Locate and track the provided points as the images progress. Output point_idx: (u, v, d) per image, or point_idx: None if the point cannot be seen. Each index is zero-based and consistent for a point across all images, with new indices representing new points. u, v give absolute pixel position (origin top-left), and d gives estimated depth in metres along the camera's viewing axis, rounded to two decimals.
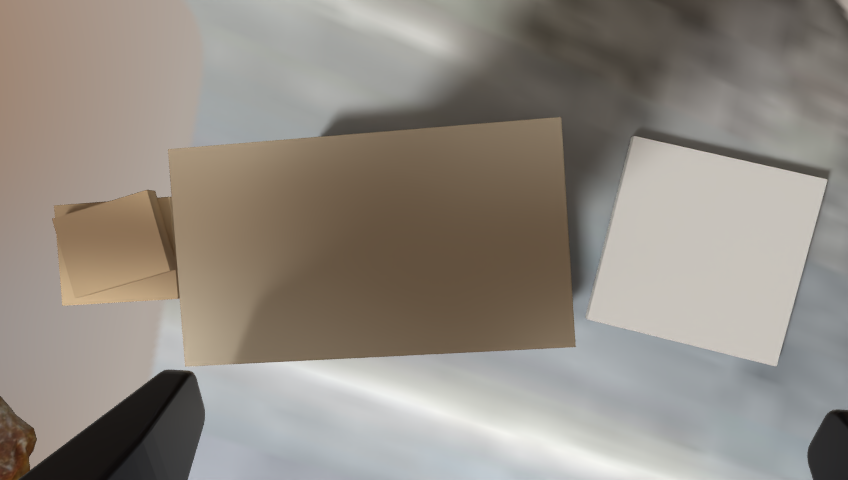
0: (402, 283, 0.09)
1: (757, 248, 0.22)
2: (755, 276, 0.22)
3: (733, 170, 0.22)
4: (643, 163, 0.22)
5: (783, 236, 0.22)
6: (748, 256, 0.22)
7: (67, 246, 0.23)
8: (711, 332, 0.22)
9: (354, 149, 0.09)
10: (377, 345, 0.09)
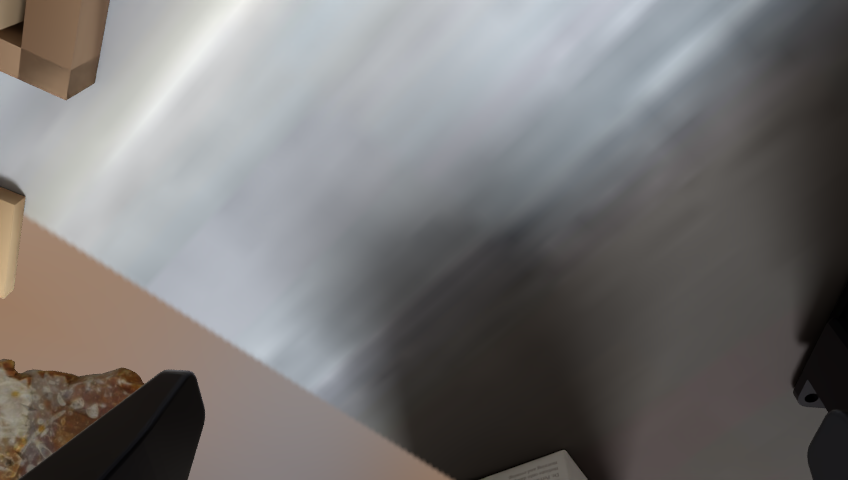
0: None
1: None
2: None
3: None
4: None
5: None
6: None
7: None
8: None
9: None
10: None
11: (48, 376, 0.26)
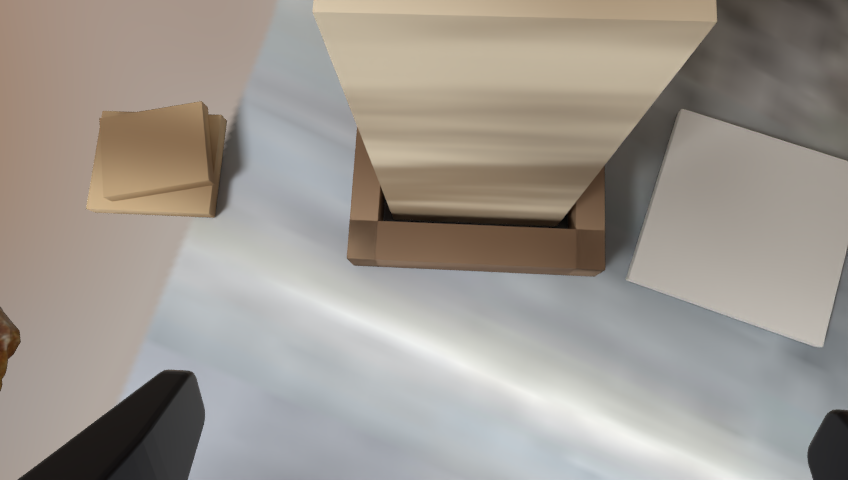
0: None
1: (801, 225, 0.22)
2: (799, 252, 0.22)
3: (776, 149, 0.23)
4: (690, 134, 0.23)
5: (826, 216, 0.22)
6: (792, 232, 0.22)
7: (108, 145, 0.23)
8: (755, 304, 0.22)
9: None
10: (515, 6, 0.09)
11: None
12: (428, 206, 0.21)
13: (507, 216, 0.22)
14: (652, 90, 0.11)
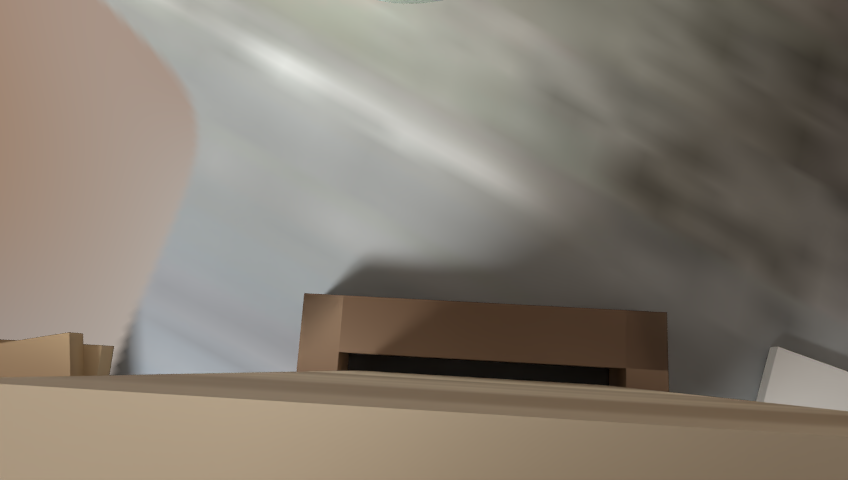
0: None
1: None
2: None
3: None
4: (791, 388, 0.15)
5: None
6: None
7: None
8: None
9: None
10: None
11: None
12: None
13: None
14: None
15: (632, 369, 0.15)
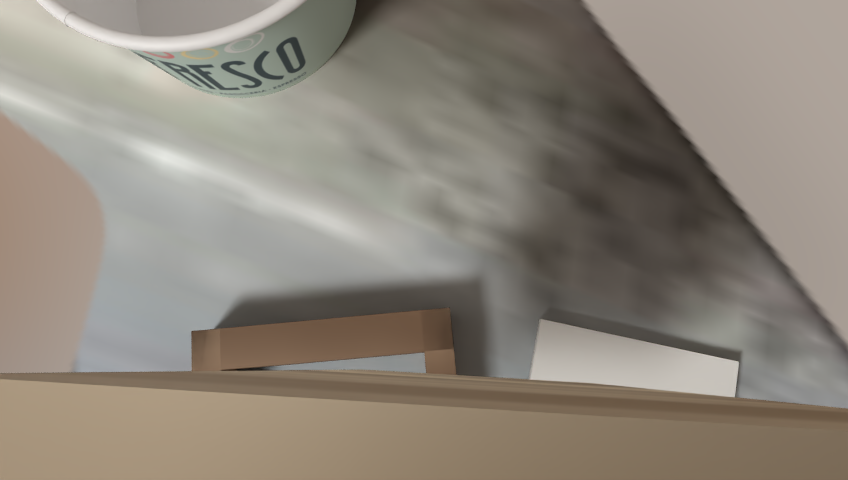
0: None
1: None
2: None
3: (644, 353, 0.21)
4: (552, 347, 0.21)
5: None
6: None
7: None
8: None
9: (601, 475, 0.03)
10: None
11: None
12: None
13: None
14: None
15: (429, 351, 0.20)
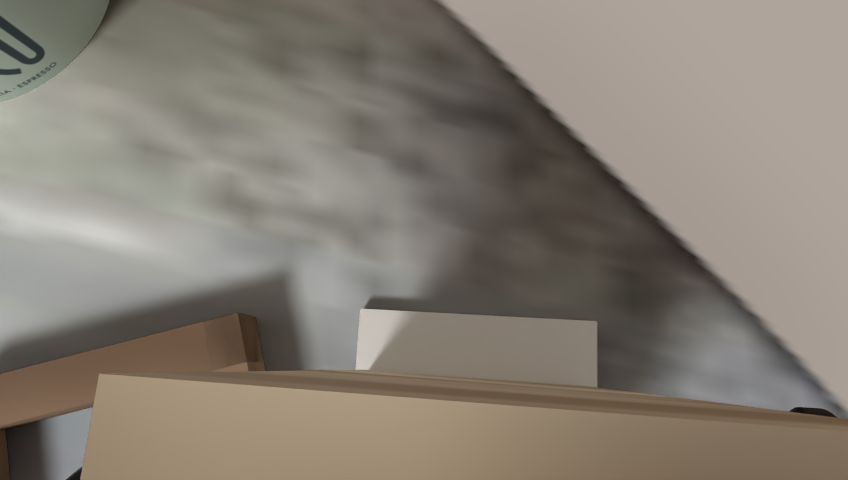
0: None
1: None
2: None
3: (485, 329, 0.18)
4: (377, 340, 0.18)
5: None
6: None
7: None
8: None
9: (560, 448, 0.04)
10: None
11: None
12: None
13: None
14: None
15: (217, 370, 0.17)
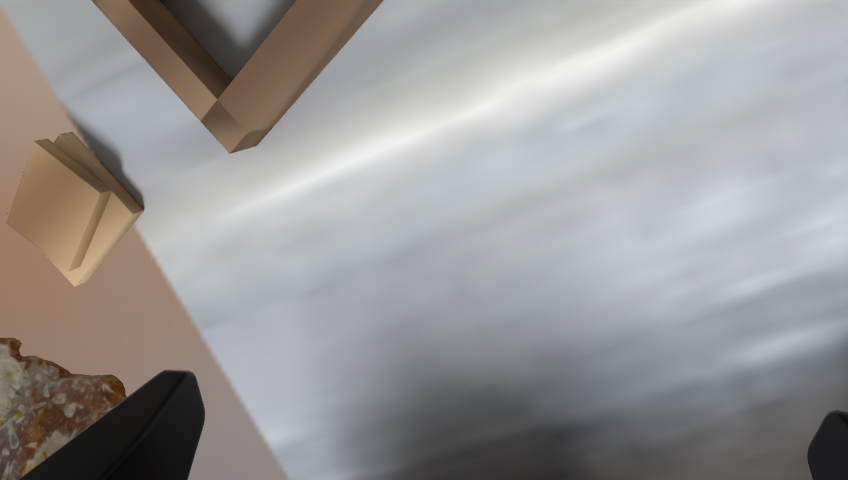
0: None
1: None
2: None
3: None
4: None
5: None
6: None
7: (30, 235, 0.24)
8: None
9: None
10: None
11: (44, 365, 0.26)
12: None
13: None
14: None
15: None
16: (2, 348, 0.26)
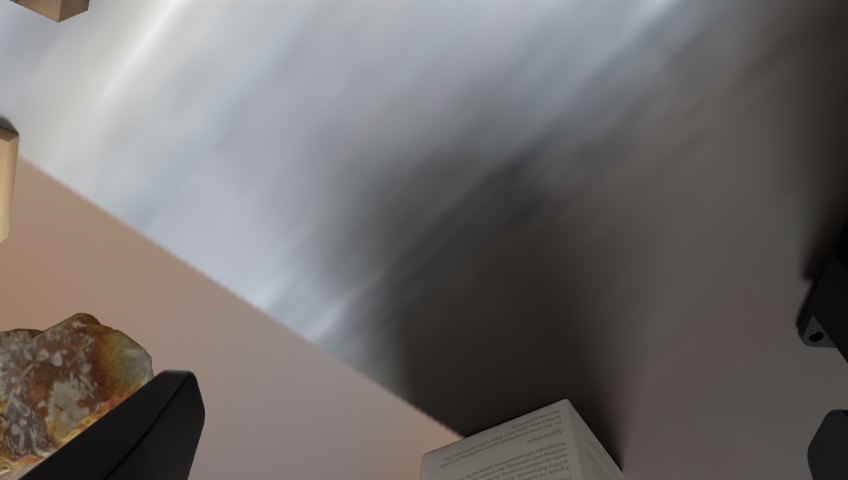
0: None
1: None
2: None
3: None
4: None
5: None
6: None
7: None
8: None
9: None
10: None
11: (13, 334, 0.26)
12: None
13: None
14: None
15: None
16: None
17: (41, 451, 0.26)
